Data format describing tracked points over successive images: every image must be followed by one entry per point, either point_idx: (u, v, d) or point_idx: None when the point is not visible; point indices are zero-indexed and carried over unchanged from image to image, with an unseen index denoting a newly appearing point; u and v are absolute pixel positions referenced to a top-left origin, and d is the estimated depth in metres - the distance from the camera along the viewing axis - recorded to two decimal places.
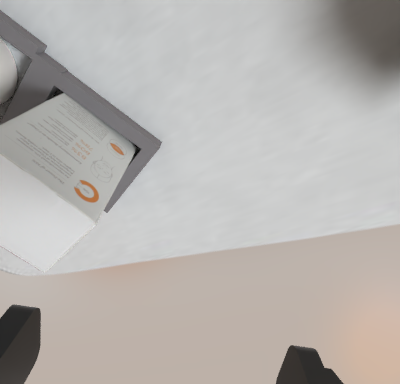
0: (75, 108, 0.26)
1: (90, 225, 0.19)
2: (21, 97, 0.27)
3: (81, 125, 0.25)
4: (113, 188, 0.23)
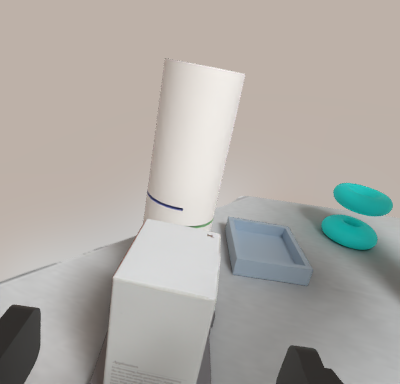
0: None
1: (210, 295, 0.18)
2: None
3: None
4: (203, 353, 0.19)
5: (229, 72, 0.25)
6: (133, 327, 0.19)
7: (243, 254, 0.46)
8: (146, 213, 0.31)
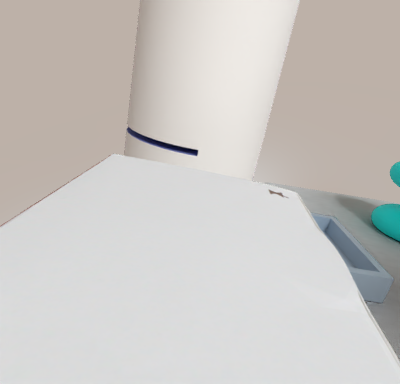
0: None
1: None
2: None
3: None
4: None
5: None
6: None
7: None
8: None
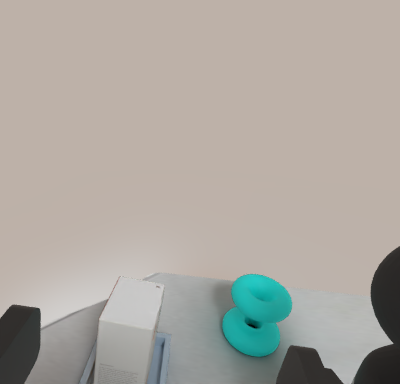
0: None
1: (150, 327, 0.34)
2: None
3: (153, 351, 0.42)
4: (149, 357, 0.36)
5: None
6: (110, 344, 0.35)
7: None
8: None
